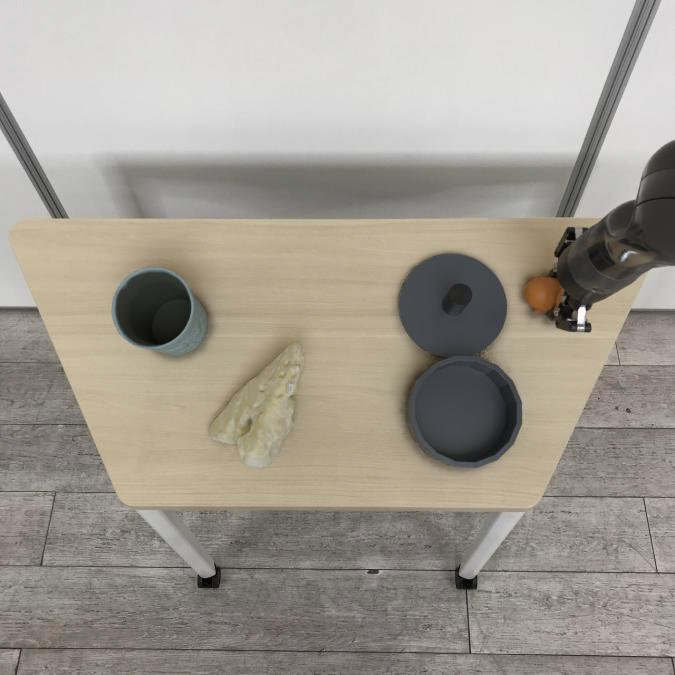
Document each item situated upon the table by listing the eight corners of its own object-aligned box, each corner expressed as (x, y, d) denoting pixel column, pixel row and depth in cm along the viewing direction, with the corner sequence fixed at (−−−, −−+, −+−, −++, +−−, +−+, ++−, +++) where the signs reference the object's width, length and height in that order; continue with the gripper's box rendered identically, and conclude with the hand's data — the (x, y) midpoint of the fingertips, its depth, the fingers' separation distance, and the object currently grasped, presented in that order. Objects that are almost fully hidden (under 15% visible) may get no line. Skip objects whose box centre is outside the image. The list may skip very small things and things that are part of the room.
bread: (585, 283, 85) (597, 275, 81) (585, 314, 85) (598, 307, 80) (520, 281, 86) (529, 272, 81) (520, 312, 85) (529, 305, 81)
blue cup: (163, 280, 87) (134, 254, 75) (227, 307, 86) (207, 286, 74) (131, 344, 86) (96, 328, 74) (196, 373, 85) (170, 361, 73)
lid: (505, 257, 86) (518, 241, 79) (505, 361, 84) (519, 353, 77) (400, 254, 87) (404, 237, 80) (397, 357, 84) (401, 349, 77)
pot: (509, 363, 84) (521, 357, 78) (510, 468, 81) (522, 469, 75) (407, 359, 84) (411, 353, 78) (405, 463, 82) (409, 464, 76)
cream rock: (240, 482, 84) (321, 472, 75) (198, 467, 79) (278, 454, 70) (259, 380, 91) (335, 359, 82) (221, 361, 86) (297, 336, 77)
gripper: (639, 325, 67) (581, 349, 84) (634, 201, 69) (579, 249, 86) (570, 322, 67) (526, 347, 84) (567, 199, 70) (525, 247, 86)
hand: (553, 297), depth 85 cm, fingers closed on bread, 4 cm apart
